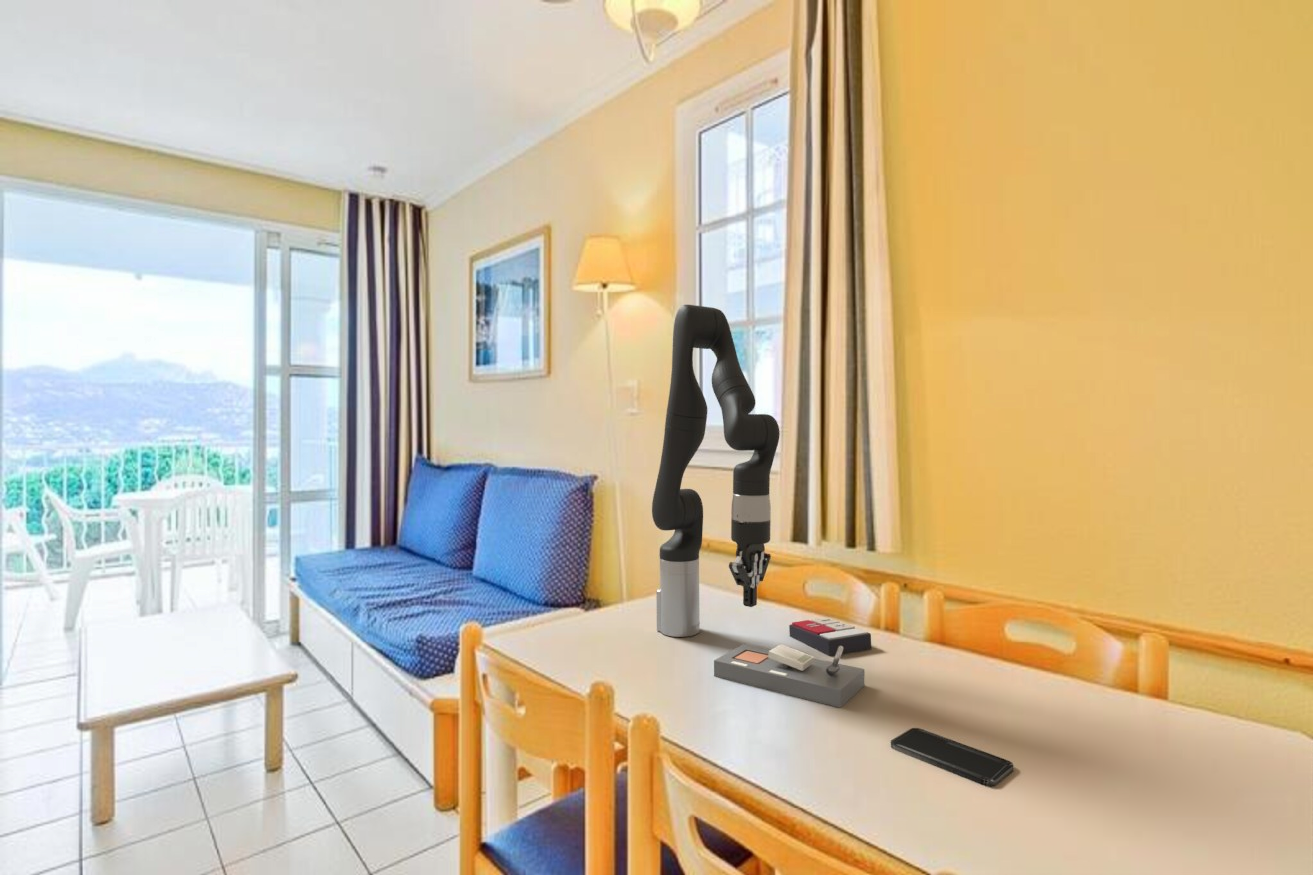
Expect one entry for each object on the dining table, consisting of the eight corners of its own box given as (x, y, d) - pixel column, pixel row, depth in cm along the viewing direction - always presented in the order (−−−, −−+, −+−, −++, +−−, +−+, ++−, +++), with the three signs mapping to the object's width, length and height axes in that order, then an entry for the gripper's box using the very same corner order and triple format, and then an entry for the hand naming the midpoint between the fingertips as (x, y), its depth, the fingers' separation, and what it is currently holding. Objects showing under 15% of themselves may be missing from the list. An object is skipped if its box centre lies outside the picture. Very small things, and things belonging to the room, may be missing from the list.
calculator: (827, 615, 155) (871, 630, 141) (828, 633, 155) (872, 650, 141) (788, 621, 151) (829, 636, 137) (788, 640, 151) (830, 657, 137)
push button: (734, 672, 128) (734, 657, 128) (747, 664, 132) (746, 650, 132) (757, 677, 125) (757, 663, 125) (769, 669, 129) (769, 655, 129)
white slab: (767, 657, 124) (768, 650, 124) (779, 649, 128) (780, 643, 128) (802, 670, 120) (803, 664, 120) (813, 662, 124) (814, 656, 124)
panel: (714, 675, 127) (713, 657, 127) (744, 657, 137) (744, 640, 137) (840, 707, 112) (840, 686, 112) (864, 685, 122) (864, 665, 122)
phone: (991, 783, 87) (887, 741, 98) (991, 791, 87) (887, 749, 98) (1016, 763, 92) (914, 725, 103) (1016, 770, 92) (914, 733, 103)
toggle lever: (824, 672, 119) (835, 645, 118) (830, 668, 121) (840, 642, 119) (833, 677, 118) (843, 650, 117) (838, 673, 120) (848, 646, 119)
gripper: (750, 511, 136) (749, 595, 136) (716, 519, 125) (715, 610, 126) (783, 514, 131) (782, 601, 132) (751, 523, 121) (750, 617, 121)
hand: (749, 605), depth 129 cm, fingers closed
